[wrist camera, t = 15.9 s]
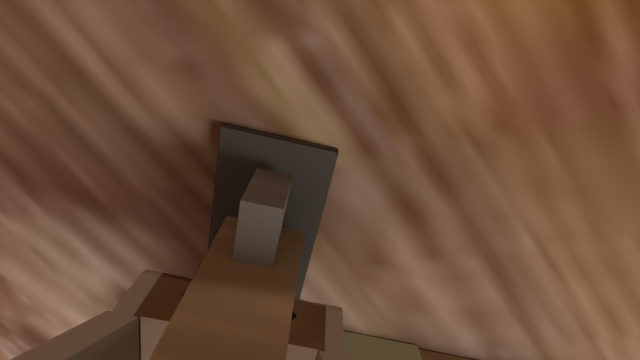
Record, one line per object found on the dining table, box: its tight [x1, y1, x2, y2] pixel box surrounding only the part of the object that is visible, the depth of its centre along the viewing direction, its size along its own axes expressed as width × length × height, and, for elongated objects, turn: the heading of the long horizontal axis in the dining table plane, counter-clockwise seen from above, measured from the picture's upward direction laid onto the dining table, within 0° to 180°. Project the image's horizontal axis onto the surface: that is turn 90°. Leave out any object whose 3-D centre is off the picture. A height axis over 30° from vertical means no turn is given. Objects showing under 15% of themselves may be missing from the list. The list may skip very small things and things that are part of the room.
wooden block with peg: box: [149, 168, 304, 360], centre depth 10 cm, size 7×3×6 cm, turn 167°
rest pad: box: [208, 123, 338, 300], centre depth 13 cm, size 8×4×1 cm, turn 167°
